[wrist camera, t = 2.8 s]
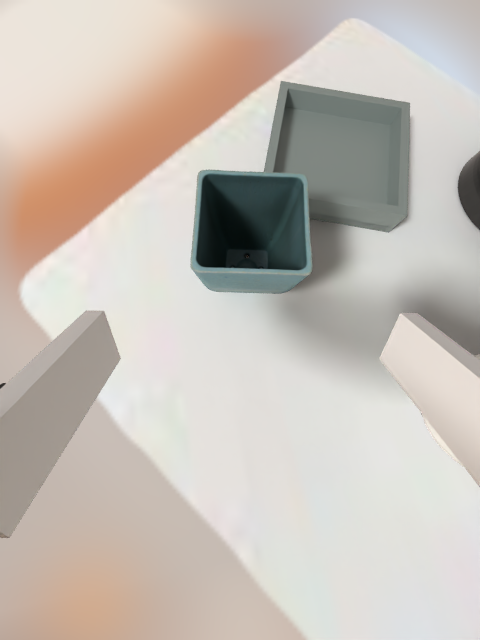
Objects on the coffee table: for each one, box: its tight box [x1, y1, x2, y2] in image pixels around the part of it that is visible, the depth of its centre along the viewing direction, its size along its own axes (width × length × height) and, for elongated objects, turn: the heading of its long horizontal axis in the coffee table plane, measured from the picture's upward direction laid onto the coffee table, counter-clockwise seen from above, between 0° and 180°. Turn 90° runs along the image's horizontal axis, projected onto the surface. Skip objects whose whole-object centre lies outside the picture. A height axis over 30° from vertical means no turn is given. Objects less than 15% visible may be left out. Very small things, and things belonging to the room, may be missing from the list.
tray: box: [264, 81, 410, 232], centre depth 28 cm, size 16×16×3 cm
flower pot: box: [191, 170, 312, 294], centre depth 21 cm, size 9×9×9 cm
